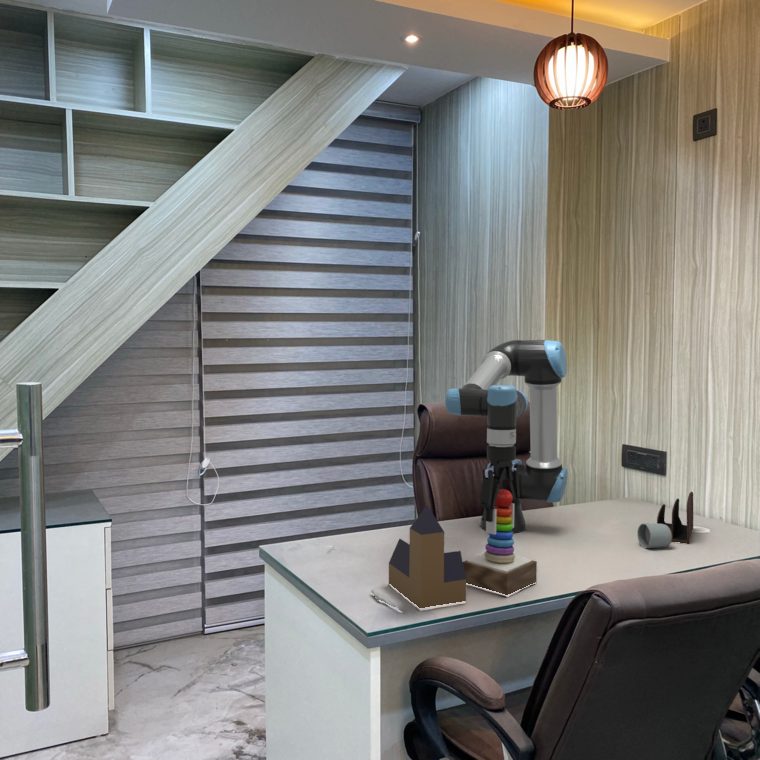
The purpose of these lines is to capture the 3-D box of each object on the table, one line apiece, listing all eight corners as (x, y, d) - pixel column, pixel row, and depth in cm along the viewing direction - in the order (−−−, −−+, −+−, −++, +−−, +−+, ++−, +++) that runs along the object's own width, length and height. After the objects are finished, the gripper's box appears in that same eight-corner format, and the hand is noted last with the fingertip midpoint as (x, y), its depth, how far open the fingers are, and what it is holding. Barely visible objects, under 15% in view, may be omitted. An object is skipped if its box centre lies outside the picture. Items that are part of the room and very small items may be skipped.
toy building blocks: (420, 611, 171) (421, 508, 169) (388, 586, 188) (389, 492, 186) (465, 604, 176) (467, 504, 174) (430, 579, 193) (431, 488, 191)
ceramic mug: (673, 549, 220) (674, 525, 219) (650, 551, 218) (650, 526, 218) (653, 540, 230) (654, 517, 230) (630, 542, 228) (631, 518, 228)
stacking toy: (499, 565, 184) (501, 492, 183) (478, 557, 190) (480, 488, 190) (520, 560, 188) (523, 490, 188) (499, 553, 195) (501, 485, 194)
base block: (462, 584, 189) (462, 560, 189) (492, 571, 199) (492, 548, 199) (507, 597, 180) (507, 572, 179) (536, 583, 190) (536, 560, 189)
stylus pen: (367, 595, 181) (367, 588, 181) (376, 594, 182) (376, 586, 182) (399, 619, 168) (399, 611, 168) (408, 616, 169) (409, 609, 169)
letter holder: (693, 529, 243) (694, 488, 242) (688, 544, 226) (690, 501, 225) (662, 525, 248) (663, 485, 247) (655, 540, 230) (656, 497, 229)
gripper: (490, 450, 177) (489, 541, 178) (534, 441, 192) (533, 525, 193) (466, 447, 182) (465, 535, 184) (510, 438, 197) (509, 520, 199)
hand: (500, 529), depth 188 cm, fingers open, 8 cm apart
